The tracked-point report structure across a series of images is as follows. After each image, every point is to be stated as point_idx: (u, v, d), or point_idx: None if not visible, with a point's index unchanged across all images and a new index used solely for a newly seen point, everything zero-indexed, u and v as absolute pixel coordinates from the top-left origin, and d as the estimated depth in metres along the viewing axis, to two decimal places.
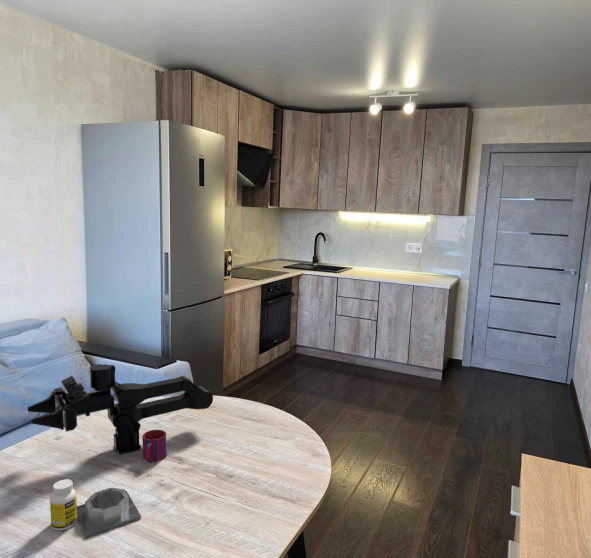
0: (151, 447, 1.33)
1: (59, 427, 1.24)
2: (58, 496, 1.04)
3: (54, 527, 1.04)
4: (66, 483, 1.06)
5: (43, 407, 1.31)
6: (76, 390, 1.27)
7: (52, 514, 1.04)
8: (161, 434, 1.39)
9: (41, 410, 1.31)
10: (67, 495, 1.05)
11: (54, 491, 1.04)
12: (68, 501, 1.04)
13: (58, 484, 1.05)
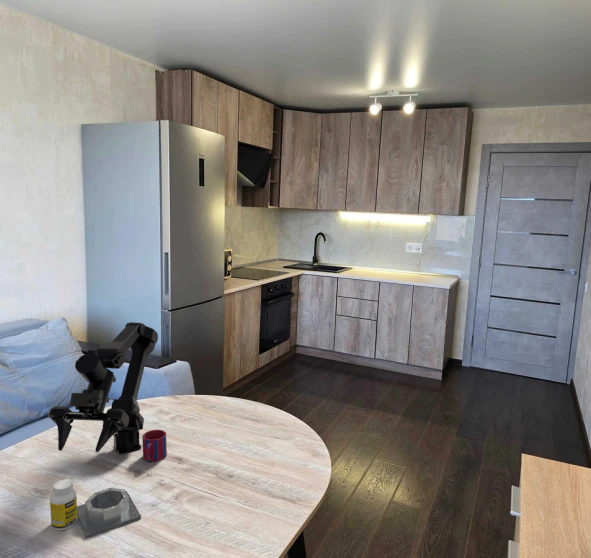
0: (151, 447, 1.33)
1: (115, 430, 1.18)
2: (58, 496, 1.04)
3: (54, 527, 1.04)
4: (66, 483, 1.06)
5: (65, 434, 1.15)
6: (100, 398, 1.14)
7: (52, 514, 1.04)
8: (161, 434, 1.39)
9: (66, 438, 1.16)
10: (67, 495, 1.05)
11: (54, 491, 1.04)
12: (68, 501, 1.04)
13: (58, 484, 1.05)
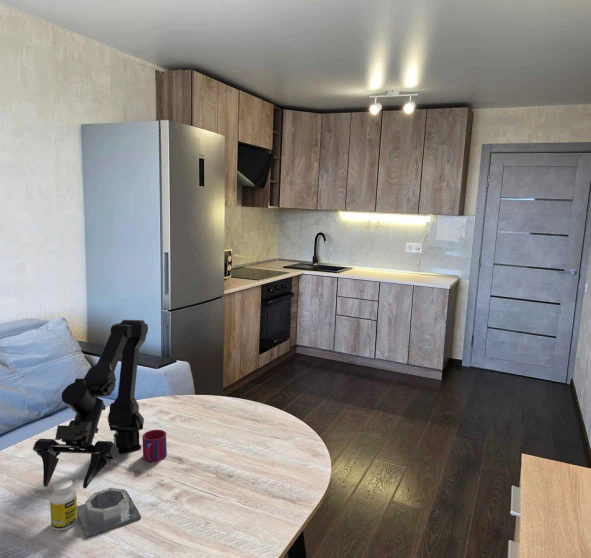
0: (151, 447, 1.33)
1: (104, 464, 1.12)
2: (58, 496, 1.04)
3: (54, 527, 1.04)
4: (66, 483, 1.06)
5: (51, 469, 1.09)
6: (88, 430, 1.08)
7: (52, 514, 1.04)
8: (161, 434, 1.39)
9: (52, 472, 1.09)
10: (67, 495, 1.05)
11: (54, 491, 1.04)
12: (68, 501, 1.04)
13: (58, 484, 1.05)
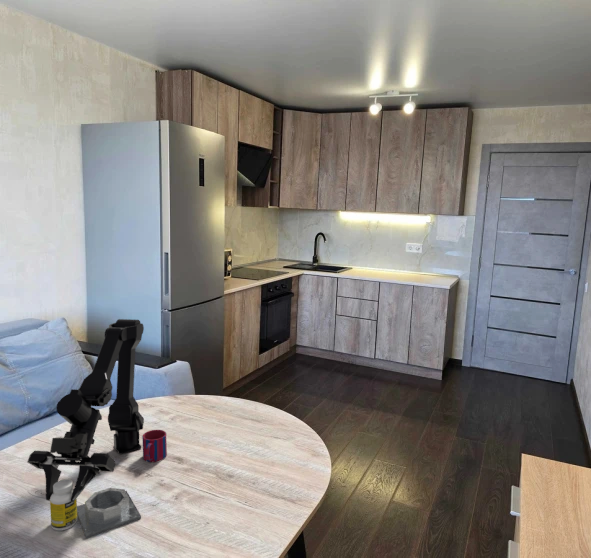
0: (151, 447, 1.33)
1: (93, 476, 1.10)
2: (58, 496, 1.04)
3: (54, 527, 1.04)
4: (66, 483, 1.06)
5: (53, 482, 1.07)
6: (83, 443, 1.06)
7: (52, 514, 1.04)
8: (161, 434, 1.39)
9: None
10: (67, 495, 1.05)
11: (54, 491, 1.04)
12: (68, 501, 1.04)
13: (58, 484, 1.05)
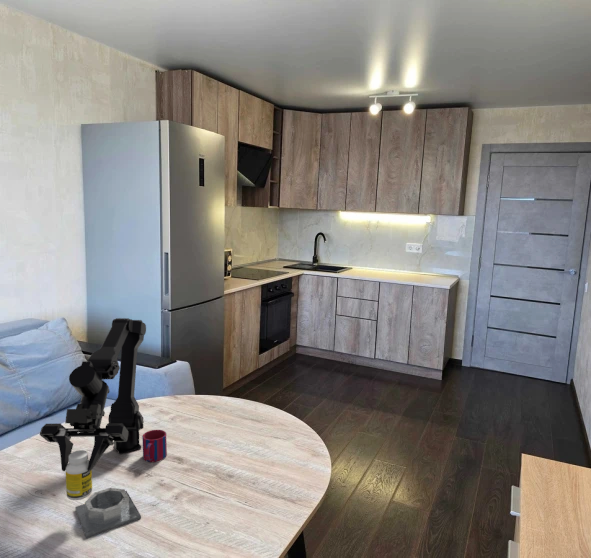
0: (151, 447, 1.33)
1: (107, 446, 1.11)
2: (75, 466, 1.04)
3: (70, 497, 1.05)
4: (82, 453, 1.06)
5: (67, 453, 1.07)
6: (98, 413, 1.07)
7: (68, 484, 1.04)
8: (161, 434, 1.39)
9: (68, 457, 1.08)
10: (83, 465, 1.05)
11: (70, 461, 1.04)
12: (85, 471, 1.05)
13: (73, 455, 1.06)
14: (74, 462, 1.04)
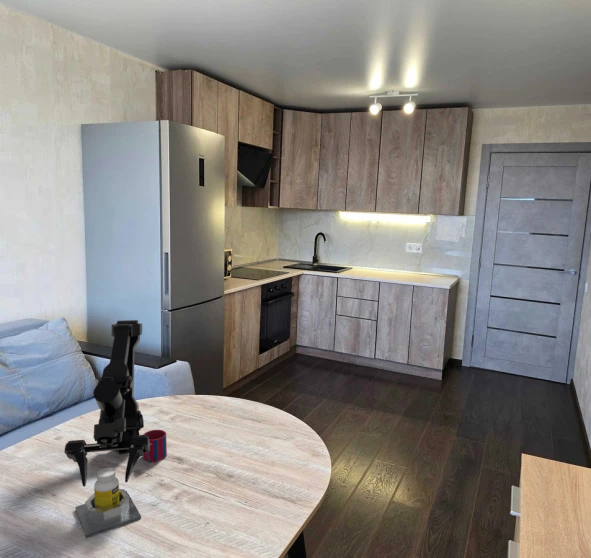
0: (151, 447, 1.33)
1: (138, 457, 1.15)
2: (105, 483, 1.08)
3: None
4: (109, 471, 1.10)
5: (85, 469, 1.09)
6: (125, 426, 1.11)
7: (99, 502, 1.07)
8: (161, 434, 1.39)
9: (86, 472, 1.10)
10: (112, 482, 1.09)
11: (100, 479, 1.07)
12: (114, 487, 1.08)
13: (101, 473, 1.09)
14: (104, 480, 1.07)
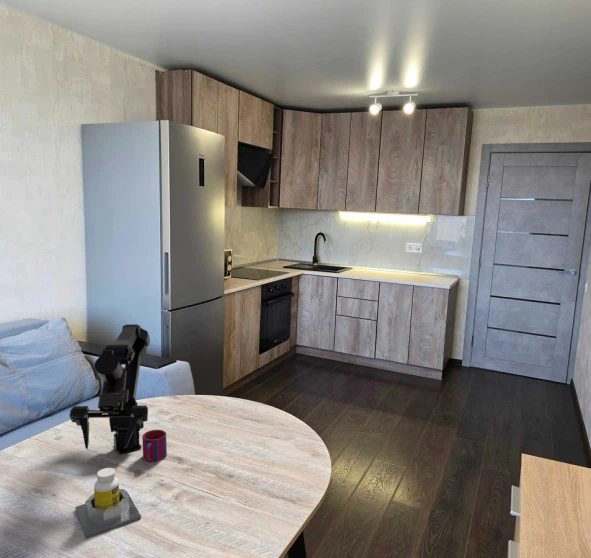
0: (151, 447, 1.33)
1: (136, 425, 1.24)
2: (105, 483, 1.08)
3: None
4: (109, 471, 1.10)
5: (88, 433, 1.18)
6: (127, 397, 1.19)
7: (99, 502, 1.07)
8: (161, 434, 1.39)
9: (88, 436, 1.18)
10: (112, 482, 1.09)
11: (100, 479, 1.07)
12: (114, 487, 1.08)
13: (101, 473, 1.09)
14: (104, 480, 1.07)
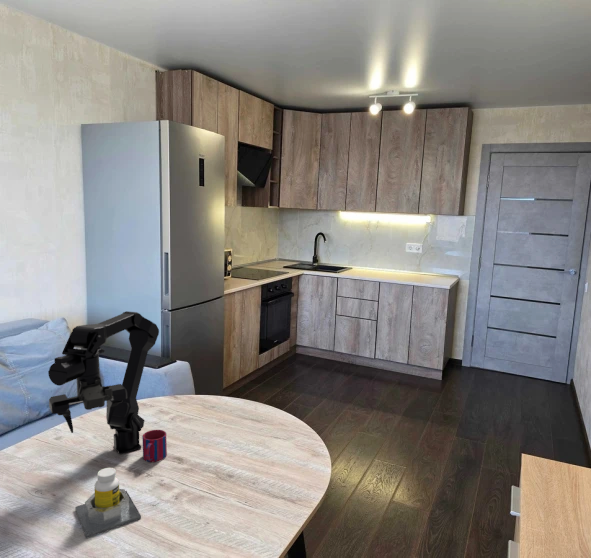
0: (151, 447, 1.33)
1: None
2: (105, 483, 1.08)
3: None
4: (110, 471, 1.10)
5: None
6: None
7: (99, 502, 1.07)
8: (161, 434, 1.39)
9: None
10: (113, 482, 1.09)
11: (100, 479, 1.07)
12: (115, 487, 1.08)
13: (102, 473, 1.09)
14: (105, 479, 1.07)
